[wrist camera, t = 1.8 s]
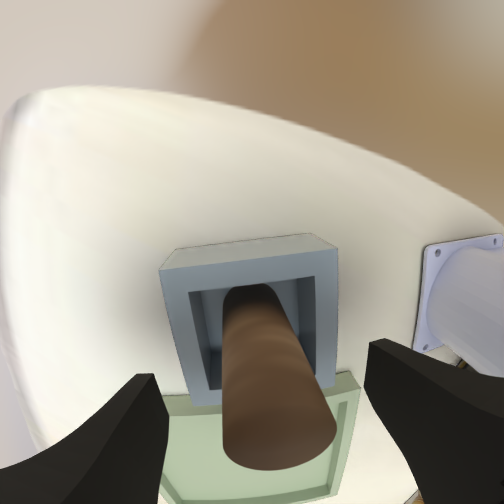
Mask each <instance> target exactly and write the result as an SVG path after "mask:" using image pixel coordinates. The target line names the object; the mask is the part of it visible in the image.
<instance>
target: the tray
mask: <svg viewBox="0 0 504 504" xmlns="http://www.w3.org/2000/svg"><path fill="white" fill-rule="evenodd" d="M321 390H322V392H323V395H324V397H325V399H326V401H327V403H328V405H329V408H330V410H331V412H332V414H333V416H334V418H335V420H336V423H337V432H336V436H335V438H334V440H333V442H332V443H331V444H330V446H329V447H328V448H327V449H326V450H325V451H324V452H322V453H321V454H320V455H319V456H317V457H315V458H314V459H312V460H310V461H308V462H306V463H304V464H301V465H299V466H296V467H292V468H288V469H283V470H275V471H261V470H253V469H249V468H245V467H243V466H240V465H238V464H236V463H234V462H233V461H232V460H230V459H229V458H228V457H227V455H226V454H225V452H224V450H223V439H222V404H220V405H207V406H193V404H192V401H191V398H190V395H179V396H162V398H163V401H164V403H165V406H166V408H167V411H168V413H169V416H170V419H169V437H168V445H167V450H166V455H165V461H164V466H163V471H162V476H161V482H160V487H159V493H160V494H161V495H162V496H163V498H164V499H165V500H166V501H167V503H168V504H302V503H307V502H312V501H316V500H320V499H324V498H328V497H332V496H336V495H337V493H338V490H339V486H340V483H341V479H342V476H343V472H344V468H345V465H346V461H347V457H348V452H349V448H350V444H351V439H352V435H353V430H354V425H355V420H356V414H357V409H358V403H359V397H360V391H361V388H360V386H359V385H358V383H357V382H356V380H355V379H354V377H353V375H352V374H351V372H350V371H347V372H343V373H339V374H336V375H335V386H332V387H328V388H324V389H321Z"/></svg>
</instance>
